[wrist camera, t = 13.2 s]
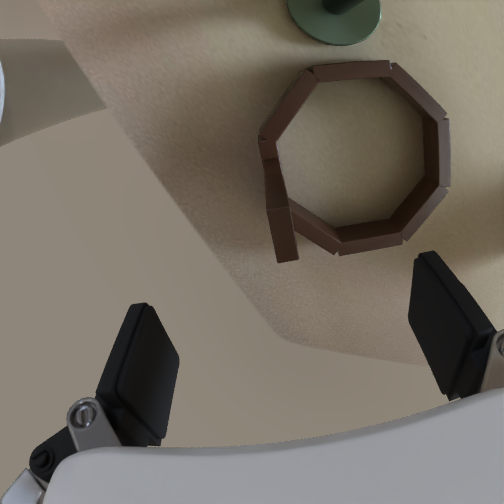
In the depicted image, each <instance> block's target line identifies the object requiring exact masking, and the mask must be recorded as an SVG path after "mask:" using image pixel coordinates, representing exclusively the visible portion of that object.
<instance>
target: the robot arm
mask: <svg viewBox="0 0 504 504" xmlns="http://www.w3.org/2000/svg"><path fill="white" fill-rule="evenodd" d="M408 320H409V324H410V326H411V328H412V330H413V332H414V334H415V336H416V338H417V340H418V342H419V344H420V346H421V349H422V351H423V353H424V355H425V357H426V359H427V361H428V364H429V366H430V368H431V370H432V372H433V375H434V377H435V379H436V382H437V384H438V386H439V388H440V391H441V393H442V394H444V395H445V394H446V395H447V397H448V399H449V401H451V400H454V399H457V398H459V397H460V398H461V399H459V400H457V401H454V402H451V403H448V404H445V405H442V406H439V407H436V408H433V409H430V410H427V411H423V412H420V413H416V414H413V415H410V416H406V417H403V418H400V419H396V420H392V421H388V422H385V423H381V424H377V425H373V426H368V427H364V428H360V429H355V430H350V431H345V432H341V433H335V434H330V435H325V436H319V437H313V438H306V439H300V440H292V441H285V442H277V443H267V444H256V445H244V446H230V447H207V448H206V447H204V448H162V447H161V448H160V447H147V446H160V445H161V439H162V438H165V436H166V432H167V426H168V420H169V414H170V409H171V404H172V398H173V393H174V388H175V383H176V378H177V373H178V368H179V356H178V353H177V351H176V350H175V348H174V346H173V344H172V342H171V340H170V338H169V337H168V335H167V333H166V331H165V329H164V327H163V325H162V323H161V321H160V319H159V317H158V315H157V314H156V311H155V309H154V308H153V307H152V306H149V305H148V304H147V303H138V304H132V305H131V306H130V307H129V310H128V312H127V314H126V317H125V319H124V322H123V324H122V326H121V328H120V331H119V333H118V336H117V338H116V341H115V343H114V345H113V348H112V350H111V353H110V356H109V358H108V361H107V363H106V366H105V368H104V371H103V374H102V376H101V379H100V382H99V384H98V387H97V390H96V396H95V399H94V398H91V397H86V398H82V399H80V400H78V401H76V402H75V403H74V404H73V405H72V406H71V407H70V409H69V411H68V413H67V418H66V420H67V425H68V426H66V427H65V428H63V429H62V430H60V431H59V432H58V433H56V434H55V435H53V436H52V437H50V438H49V439H47V440H46V441H45V442H43V443H42V444H40V445H39V446H37V447H36V448H35V449H34V451H33V452H32V454H31V456H30V461H29V465H30V469H29V470H28V469H27V468H25V469H24V471H23V472H22V473H21V474H20V475H19V476H18V478H17V479H16V480H15V481H14V482H13V484H12V485H11V486H10V487H9V488H8V490H7V491H6V492H5V493H4V494H3V496H2V498H1V501H0V504H504V329H502V330H500V331H498V332H497V331H496V329H495V328H494V326H493V325H492V324H491V322H490V321H489V319H488V318H487V316H486V315H485V313H484V312H483V311H482V309H481V308H480V306H479V305H478V304H477V302H476V301H475V300H474V298H473V297H472V296H471V294H470V293H469V292H468V290H467V289H466V288H465V286H464V285H463V284H462V283H461V282H460V281H459V280H458V279H457V277H456V276H455V275H454V274H453V272H452V271H451V270H450V269H449V267H448V266H447V265H446V264H445V262H444V261H443V260H442V259H441V257H440V256H439V255H438V254H437V253H436V252H435V251H433V250H432V251H428V252H423V253H420V254H419V255H418V258H416V259H415V260H414V266H413V277H412V287H411V296H410V304H409V312H408Z"/></svg>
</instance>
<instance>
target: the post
mask: <svg viewBox="0 0 504 504" xmlns="http://www.w3.org/2000/svg"><path fill="white" fill-rule="evenodd" d="M287 7H288V11H289V14H290V16H291V18H292V19H293V21H294V22H295V24H296V25H297V26H298V27H299V29H301V30H302V31H303V32H304V33H305V34H306V35H308V36H309V37H311V38H313V39H314V40H317V41H319V42H322V43H325V44H329V45H335V46H346V45H352V44H355V43H358V42H361V41H363V40H365V39H366V38H368V37H369V36H370V35H371V34H372V33H373V32H374V31H375V30H376V28H377V26H378V24H379V21H380V18H381V5H380V1H379V0H287Z"/></svg>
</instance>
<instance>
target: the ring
mask: <svg viewBox="0 0 504 504" xmlns="http://www.w3.org/2000/svg"><path fill="white" fill-rule="evenodd" d="M375 77H378V78H380V79H381V80H382V81H383V82H384V83H385V84H387V85H388V86H389V87H390V88H391V89H392V90H393V91H395V92H396V93H397V94H398V95H399V96H400V97H401V98H402V99H403V100H404V101H405V102H407V103H408V104H409V105H410V106H411V107H412V108H413V109H414V110H415V111H416V112H417V113H418V114H419V115H420V116H421V117H422V124H423V138H424V160H425V176H424V177H423V178H422V179H421V181H420V182H419V183H418V184H417V186H416V187H415V188H414V189H413V191H412V192H411V193H410V194H409V196H408V197H407V198H406V199H405V201H404V202H403V203H402V204H401V205H400V207H399V208H398V209H397V210H396V211H395V213H394V214H393V215H392V216H391V217H390V219H384V220H378V221H373V222H367V223H361V224H355V225H349V226H344V227H338V228H334V227H332V226H331V225H329V224H328V223H326V222H325V221H323V220H322V219H320V218H319V217H317V216H316V215H314V214H313V213H311V212H310V211H308V210H307V209H305V208H304V207H302V206H301V205H299V204H298V203H296V202H294V201H293V200H291V199H290V198H288V195H287V191H286V187H285V182H284V177H283V172H282V167H281V162H280V156H279V151H278V146H277V140H278V139H279V137H280V136H281V135H282V133H283V132H284V130H285V129H286V128H287V126H288V125H289V123H290V122H291V121H292V119H293V118H294V116H295V115H296V114H297V112H298V111H299V110H300V108H301V107H302V105H303V104H304V103H305V101H306V100H307V99H308V97H309V96H310V94H311V93H312V92H313V90H314V89H315V88H316V86H317V85H318V84H319V83H321V82H329V81H339V80H349V79H361V78H375ZM446 114H447V113H446V112H445V111H444V109H443V108H442V107H441V106H440V105H439V104H438V103H437V102H436V101H435V100H434V99H433V98H432V97H431V96H430V95H429V94H428V93H427V92H426V91H425V90H424V89H423V88H422V87H421V86H420V85H419V84H418V83H417V82H416V81H415V80H414V79H413V78H412V77H411V76H410V75H409V74H408V73H407V72H406V71H405V70H404V69H402V68H401V67H400V66H399V65H398V64H397V63H390V60H377V61H359V62H345V63H334V64H324V65H316V66H310V67H307V70H302V71H300V73H299V74H298V75H297V77H296V78H295V80H294V81H293V82H292V84H291V85H290V86H289V88H288V89H287V91H286V92H285V93H284V95H283V96H282V98H281V99H280V100H279V102H278V103H277V105H276V106H275V107H274V109H273V110H272V112H271V113H270V114H269V116H268V117H267V119H266V120H265V122H264V123H263V125H262V126H261V127H260V129H259V131H260V135H258V144H259V148H260V153H261V158H262V162H263V167H264V177H265V193H266V211H267V216H268V220H269V225H270V230H271V234H272V239H273V244H274V249H275V254H276V258H277V263H283V262H288V261H294V260H299V255H298V249H297V243H296V237H295V231H296V232H298V233H299V234H301V235H303V236H304V237H306V238H307V239H309V240H311V241H312V242H314V243H315V244H317V245H319V246H320V247H322V248H323V249H325V250H326V251H328V252H330V253H331V254H333V255H335V253H336V252H338V254H339V256H343V255H349V254H354V253H359V252H365V251H370V250H376V249H381V248H386V247H392V246H397V245H402V243H403V239H404V240H406V241H408V240H409V239H410V238H411V236H412V235H413V234H414V233H415V232H416V231H417V230H418V228H419V227H420V226H421V225H422V224H423V222H424V221H425V220H426V219H427V218H428V216H429V215H430V214H431V213H432V212H433V210H434V209H435V208H436V207H437V205H438V204H439V203H440V202H441V201H442V199H443V198H444V197H445V196H446V194H447V193H448V190H447V189H446V188H445V187H450V178H451V150H450V123H449V119H448V118H445V116H446ZM294 230H295V231H294Z"/></svg>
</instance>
